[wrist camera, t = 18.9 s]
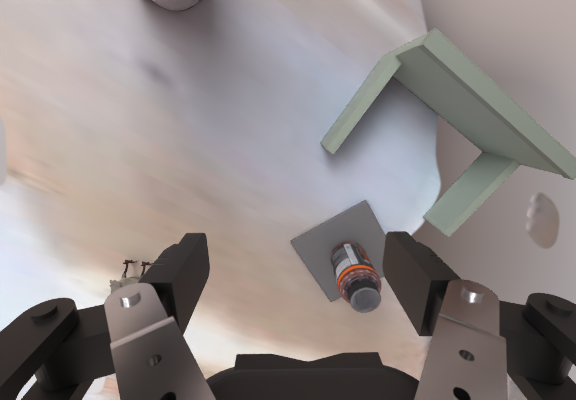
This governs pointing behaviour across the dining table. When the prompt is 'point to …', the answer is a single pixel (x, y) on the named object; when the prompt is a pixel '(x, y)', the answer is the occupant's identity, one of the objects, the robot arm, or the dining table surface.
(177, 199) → the dining table surface
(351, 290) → the supplement bottle
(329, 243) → the slate tile
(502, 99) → the sage green open tray
